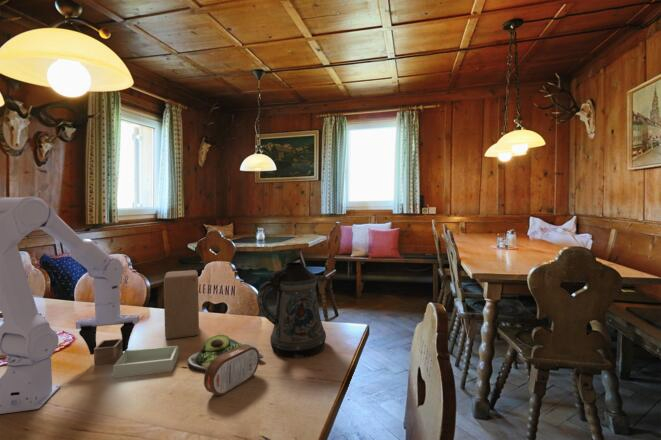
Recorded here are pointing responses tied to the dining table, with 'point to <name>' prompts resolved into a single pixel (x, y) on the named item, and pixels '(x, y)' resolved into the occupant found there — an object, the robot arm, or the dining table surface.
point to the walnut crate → (107, 352)
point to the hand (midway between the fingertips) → (109, 351)
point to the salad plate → (213, 351)
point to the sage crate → (146, 361)
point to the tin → (231, 369)
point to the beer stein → (293, 312)
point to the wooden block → (181, 304)
